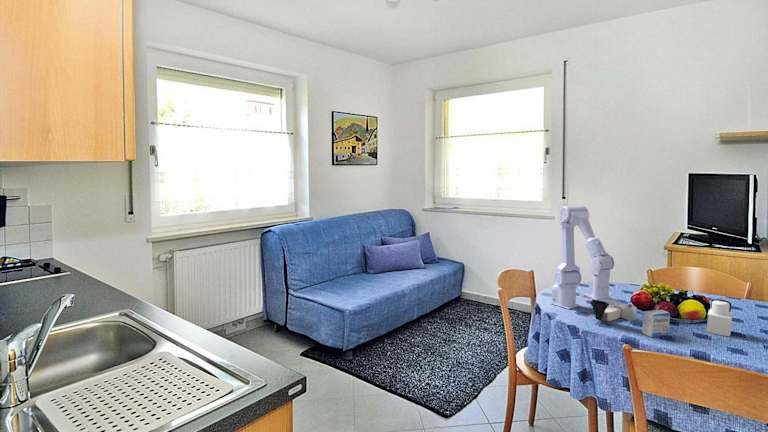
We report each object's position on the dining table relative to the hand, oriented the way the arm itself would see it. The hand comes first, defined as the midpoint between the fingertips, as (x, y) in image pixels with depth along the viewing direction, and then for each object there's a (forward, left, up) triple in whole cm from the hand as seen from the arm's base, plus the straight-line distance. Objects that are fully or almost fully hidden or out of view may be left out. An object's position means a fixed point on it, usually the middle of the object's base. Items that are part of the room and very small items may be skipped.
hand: (598, 319), depth 180 cm
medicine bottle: (+31, +27, -1) cm, 41 cm away
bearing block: (0, +13, -1) cm, 13 cm away
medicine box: (+19, +5, -1) cm, 20 cm away
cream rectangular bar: (0, +9, -1) cm, 9 cm away
